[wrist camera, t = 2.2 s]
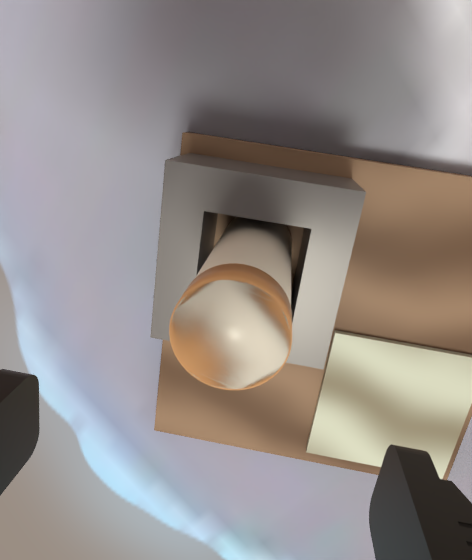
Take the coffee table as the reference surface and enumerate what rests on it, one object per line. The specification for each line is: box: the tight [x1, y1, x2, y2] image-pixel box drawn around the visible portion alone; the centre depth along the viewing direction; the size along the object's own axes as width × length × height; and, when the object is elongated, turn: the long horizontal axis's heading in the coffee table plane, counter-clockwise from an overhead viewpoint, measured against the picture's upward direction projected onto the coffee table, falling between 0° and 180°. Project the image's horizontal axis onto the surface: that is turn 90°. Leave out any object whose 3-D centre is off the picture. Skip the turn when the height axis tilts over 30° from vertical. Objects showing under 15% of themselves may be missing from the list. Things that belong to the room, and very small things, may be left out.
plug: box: [169, 217, 292, 390], centre depth 20 cm, size 4×4×12 cm
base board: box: [154, 132, 472, 480], centre depth 28 cm, size 20×20×2 cm
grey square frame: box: [151, 153, 366, 369], centre depth 24 cm, size 9×9×5 cm
